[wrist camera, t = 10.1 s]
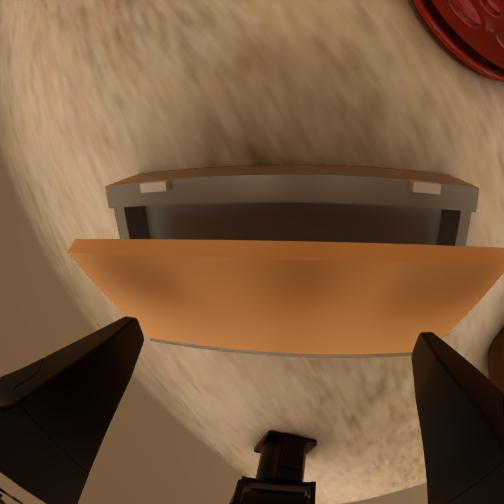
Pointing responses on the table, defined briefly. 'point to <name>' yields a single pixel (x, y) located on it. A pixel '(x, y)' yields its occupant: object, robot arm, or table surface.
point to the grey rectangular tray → (295, 205)
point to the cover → (290, 292)
